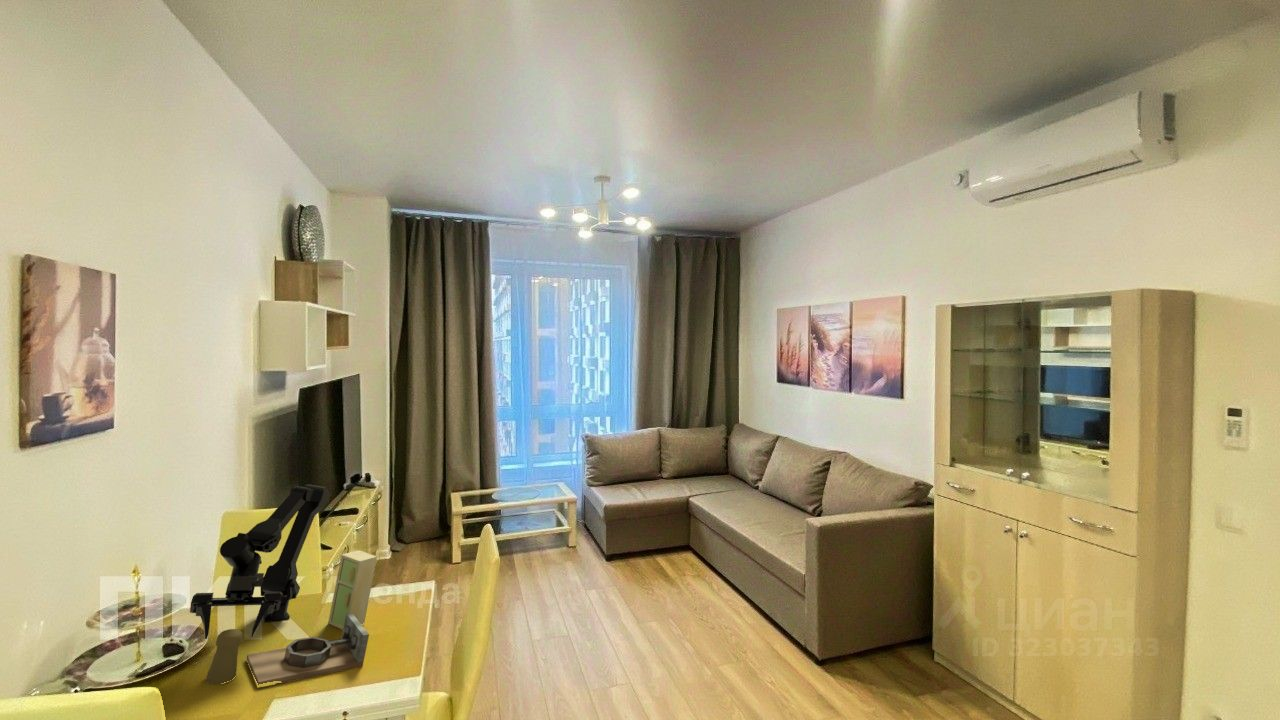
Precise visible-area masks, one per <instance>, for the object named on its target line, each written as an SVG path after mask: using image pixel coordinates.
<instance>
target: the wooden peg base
mask: <svg viewBox="0 0 1280 720" xmlns="http://www.w3.org/2000/svg"><path fill="white" fill-rule="evenodd" d="M345 626H349V627H350V628H351V629H350V633H349V638H351V639H352V636H353V635H356V636H357V637H358V639H357V644H356V649H350V644H351V643H347V644H342V645H336V646H331V650H330V655H329V658H328V659H327V660H326V661H324V662H323V663H322V664H321V665H317V666H312V667H307V668H299V667H294V666H289V665H287V663H286V661H285V659H284V657H285V653H284V652H286V647H283V648H279V649H272V650H266V651H260V652H255V653H249V654H247V655H246V659H247V661H248V664H249V666H250V668H251V671H252V673H253V675H254V677H255V679H256V681H257V683H258V685H259V684H263V683H267V682H273V681H281V682H282V683H281V684H285V683H290V682H294V681H299V680H304V679H308V678H313V677H319V676H323V675H328V674H333V673H337V672H342V671H347V670H352V669H357V668H361V667H363V666H364V662H365V657H366V651H367V648H368V647H367V646H368V642H369V637H370V634H369V632H368V631H367V630H366V628H365V627H364V626H363V625H361V623H360V622H359V621H358V620H357V618H356V617H355V616H354V615H353V613H348V614H346V618H345V623H344V628H343V630H342V634H341V638H337V639H331V640H328V642H330V641H336V640H341V639H343V634H344V629H345ZM318 652H320V651H315V650H304V651H298V652H296V653H301V654H306V655H307V654H312V653H318ZM283 653H284V654H283ZM246 659H245V660H246ZM248 664H247V665H248Z"/></svg>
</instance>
